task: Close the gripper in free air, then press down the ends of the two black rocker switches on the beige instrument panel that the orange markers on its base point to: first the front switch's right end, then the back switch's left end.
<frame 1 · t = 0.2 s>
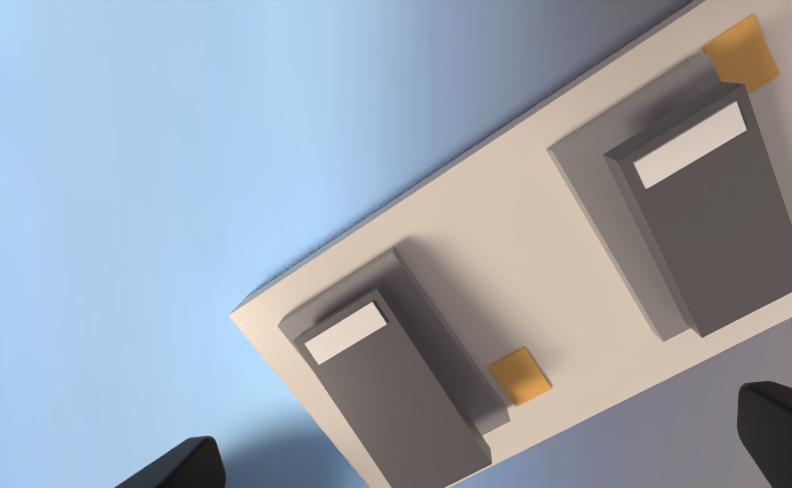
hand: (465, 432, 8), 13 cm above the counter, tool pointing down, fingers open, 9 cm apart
switch panel: (515, 273, 21), on the counter
rocker B: (393, 396, 18), point 5 cm above the counter, hinge at 9.0°
rocker A: (711, 221, 15), point 5 cm above the counter, hinge at -9.0°
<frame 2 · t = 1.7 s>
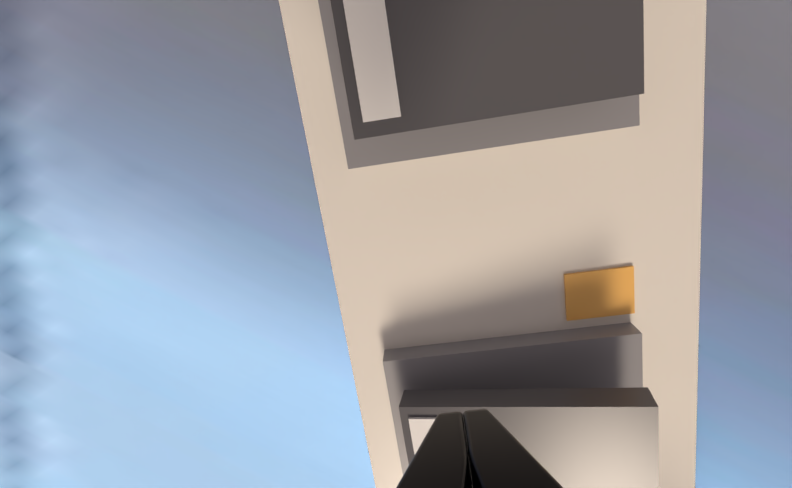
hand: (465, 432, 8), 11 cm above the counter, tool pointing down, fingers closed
switch panel: (487, 233, 18), on the counter
rocker B: (523, 449, 15), point 5 cm above the counter, hinge at 9.0°
rocker A: (489, 39, 12), point 5 cm above the counter, hinge at -9.0°
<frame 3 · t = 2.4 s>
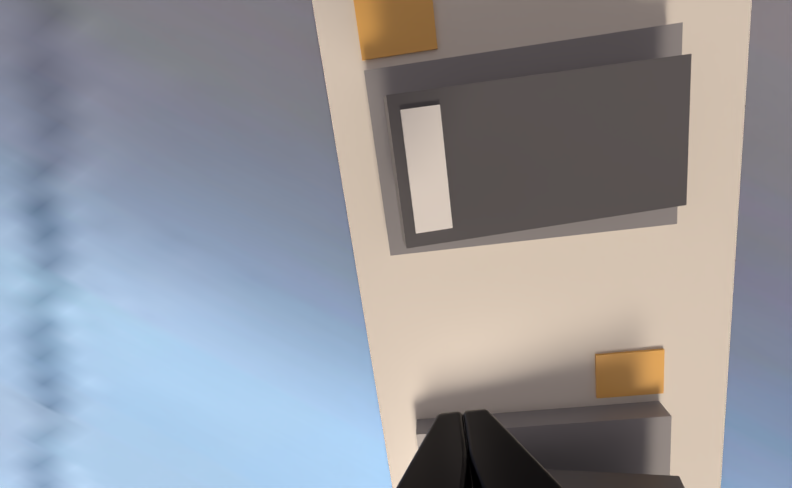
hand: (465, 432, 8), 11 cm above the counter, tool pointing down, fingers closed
switch panel: (518, 305, 18), on the counter
rocker A: (538, 152, 12), point 5 cm above the counter, hinge at -9.0°
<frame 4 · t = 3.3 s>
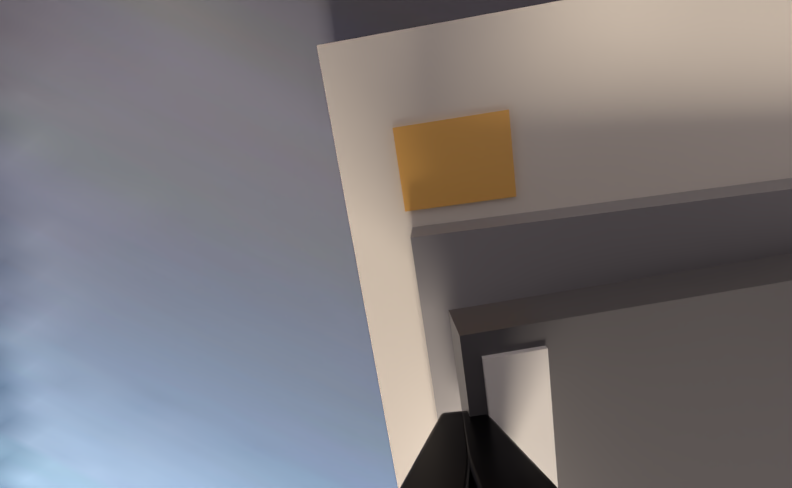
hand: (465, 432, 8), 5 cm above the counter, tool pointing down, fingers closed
rocker A: (693, 390, 8), point 5 cm above the counter, hinge at -7.9°, touching gripper
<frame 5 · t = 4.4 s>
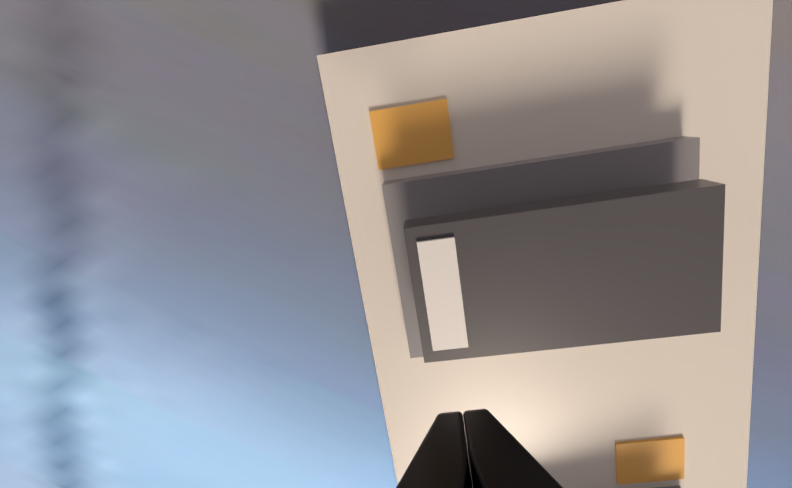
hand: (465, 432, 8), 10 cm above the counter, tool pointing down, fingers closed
switch panel: (535, 386, 18), on the counter
rocker A: (558, 274, 12), point 5 cm above the counter, hinge at 0.8°
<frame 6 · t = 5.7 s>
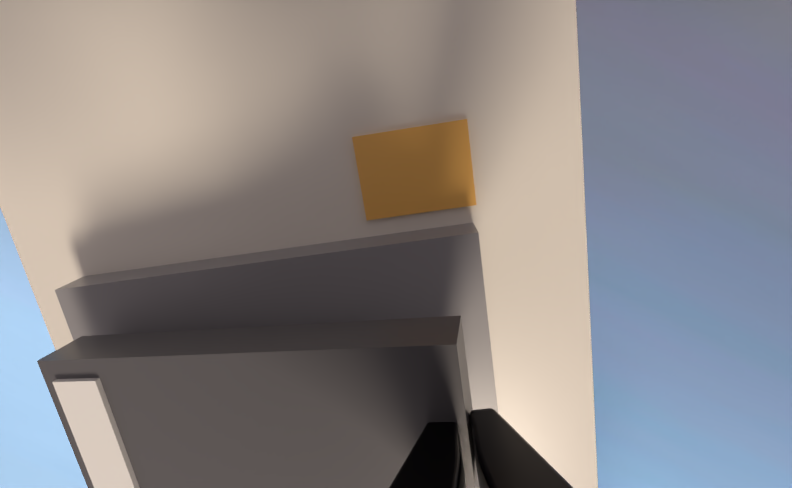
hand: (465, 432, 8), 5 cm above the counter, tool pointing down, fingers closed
switch panel: (264, 93, 11), on the counter
rocker B: (260, 435, 9), point 5 cm above the counter, hinge at 8.8°, touching gripper
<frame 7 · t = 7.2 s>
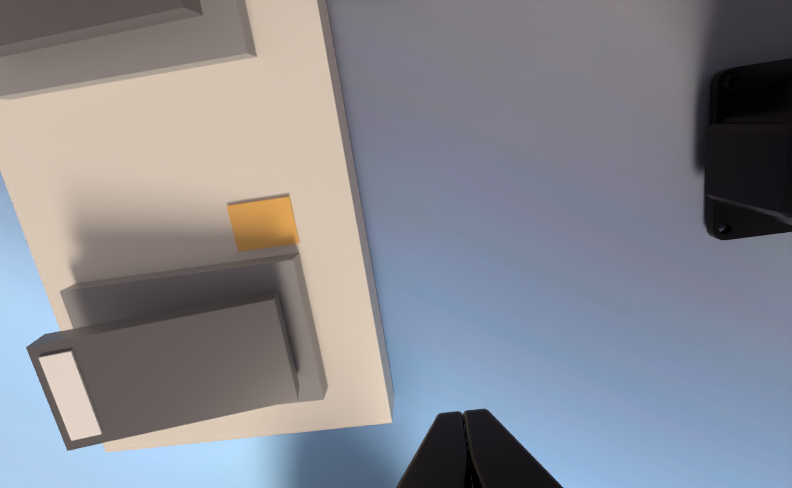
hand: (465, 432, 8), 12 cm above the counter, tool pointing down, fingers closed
switch panel: (186, 172, 19), on the counter
rocker B: (174, 368, 16), point 5 cm above the counter, hinge at -11.2°
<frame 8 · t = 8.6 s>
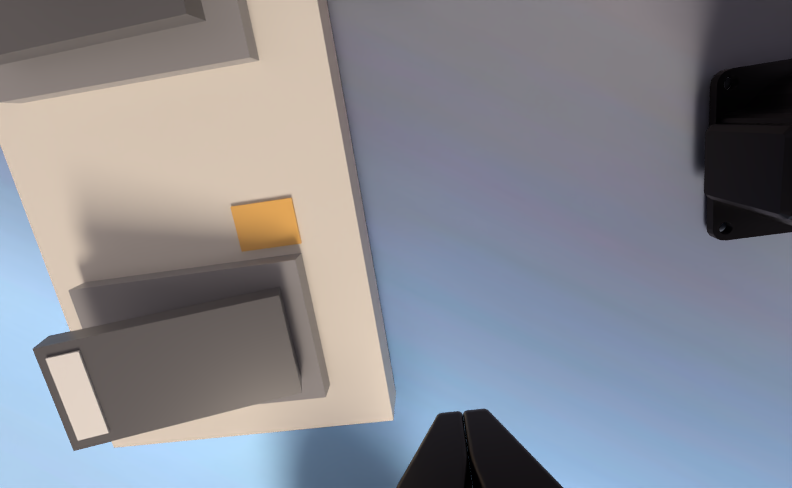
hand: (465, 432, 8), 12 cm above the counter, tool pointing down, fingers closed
switch panel: (191, 173, 19), on the counter
rocker B: (180, 366, 16), point 5 cm above the counter, hinge at -15.5°
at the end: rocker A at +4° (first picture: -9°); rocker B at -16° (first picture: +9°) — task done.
